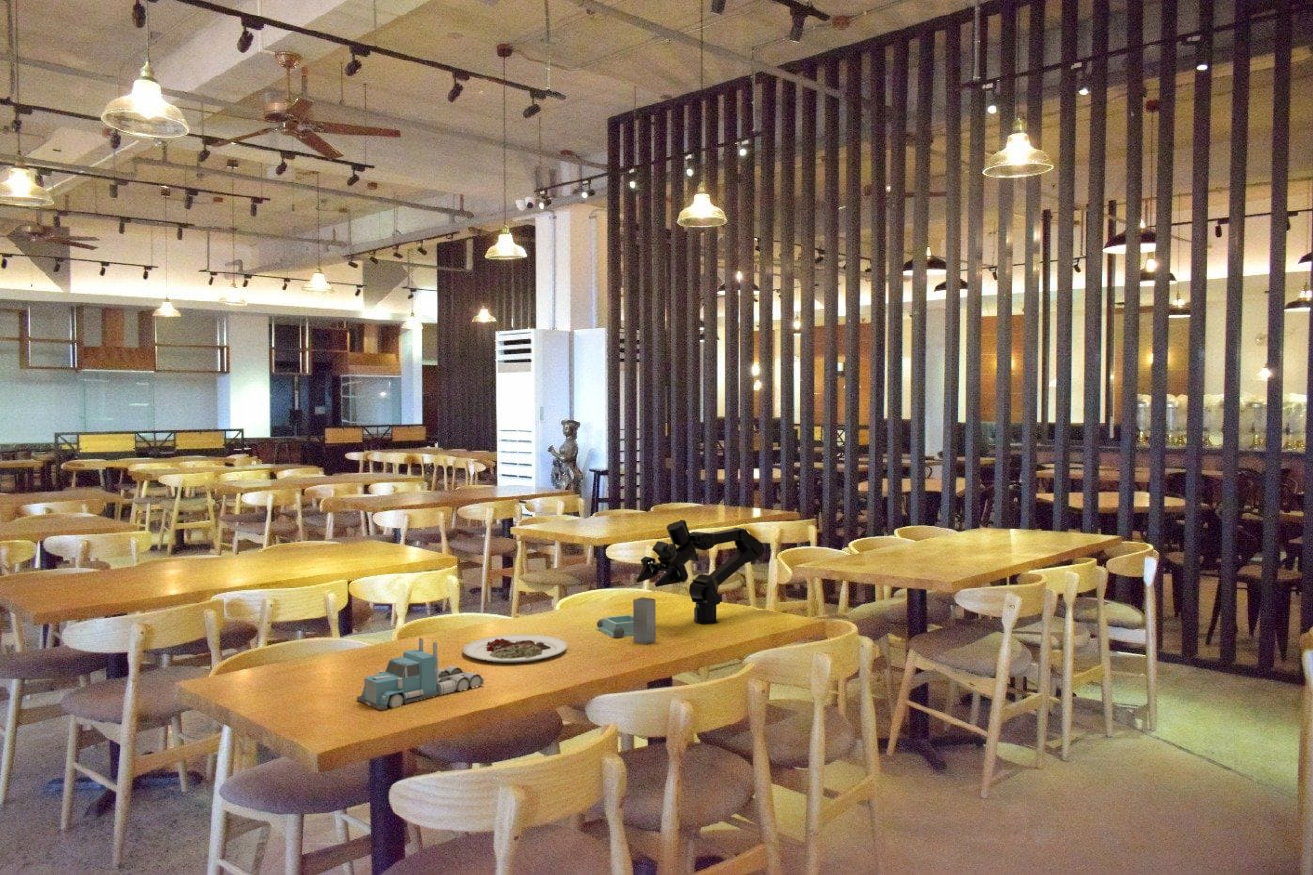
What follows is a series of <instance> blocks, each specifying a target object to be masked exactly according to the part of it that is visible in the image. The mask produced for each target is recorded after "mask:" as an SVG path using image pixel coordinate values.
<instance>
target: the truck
mask: <svg viewBox="0 0 1313 875" xmlns="http://www.w3.org/2000/svg"><path fill="white" fill-rule="evenodd" d="M413 647H414V649H413V650H406V651H404V652H403V654H402V656H398V657H390V659H389V660H388V659H387V661H386V664H387V666H386V669H385V671H384V670H379V672H378V673H376V674H373V675H370V676H367V677H364V685H363V686H364V687H362V693H361V695H359V696H357V697H356V701H357V700H359V701H358V702H360V701H361V702H360V703H362V702H363V703H362V704H364V703H365V704H364V705H366V704H368V705H367V706H368V707H371V706H372V707H371V708H373V707H374V708H373V709H375V708H376V710H378V709H379V710H378V711H380V710H383V711H386V710H385V709H387V710H388V707H389V708H390V707H391V708H390V709H394V708H393V707H396V708H398V707H397V706H400V705H402V706H403V705H408V704H407V703H409V704H411V703H410V702H413V701H417V700H421V699H424V698H428V697H433V696H437V695H439V694H440V695H439V696H443V694H444V695H447V693H448V694H451V692H452V693H455V692H458V691H461V690H464V689H468V690H469V689H471V688H472V687H476V686H480V687H481V685H484V681H485V680H484V678H483V677H482V676H481V674H478V673H475V672H472V671H468V672H466V671H463V669H462V668H461V667H460V668H459V667H457V666H454V665H451V664H450V665H448V666H447V667H445V669H443V668H440V667H439V656H438V643H437V642H432V654H431V653H427V652H425V651H424V638H422V637H418V649H415V648H416V645H414V646H413ZM469 687H471V688H469ZM456 690H457V691H456ZM461 692H462V691H461ZM437 697H438V696H437ZM433 698H434V697H433ZM421 701H422V700H421ZM417 702H418V701H417ZM403 703H404V704H403ZM413 703H414V702H413Z"/></svg>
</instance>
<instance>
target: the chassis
mask: <svg viewBox="0 0 1313 875" xmlns="http://www.w3.org/2000/svg"><path fill="white" fill-rule="evenodd" d="M596 627H597V628H598V631H600V632H601V633H603V634H606V635H608V637H611V638H617V639H620V638H621V639H622V638H623V637H629V636H633V614H623V615H617V616H616V615H615V616H609V617H607V616H606V617H602V618H600V619H599V620H598V621H597V622H596Z"/></svg>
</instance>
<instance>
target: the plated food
mask: <svg viewBox="0 0 1313 875" xmlns="http://www.w3.org/2000/svg"><path fill="white" fill-rule="evenodd" d="M567 648H568V643H567V642H566V641H564V640H563V639H561V638H558V637H553V636H549V635H547V636H546V635H543V634H505V635H504V634H503V635H496V636H489V637H485V638H481V639H477V640H473V641H471V642H469V643H467V644H466V645H464V646H463V647H462V651H463V654H465V656H467V657H470V658H473V659H475V660H476V659H477V660H483V661H485V660H486V662H491V661H492V663H503V664H504V663H505V664H508V663H513V664H514V663H525V662H534V661H539V660H542V659H546V658H550V657H553V656H556V655H560V654H561V653H563V652H564V651H566V650H567Z"/></svg>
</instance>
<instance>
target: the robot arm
mask: <svg viewBox="0 0 1313 875" xmlns="http://www.w3.org/2000/svg"><path fill="white" fill-rule="evenodd" d="M666 531H667V533H668V535H669V538H670V540H671V543H668V542H665V541H659V540H657V541H656V543H655V545H653V547H652V549H651V550H652V551H653V552H654V553H655V554H656V555H657V560H658V561H659V562H657V560H656V559H655V558H656V557H655V558H654V557H650V556H644V557H642V558H641V559H640V562H641V565H642V569H641V571H640V572H639V574H638V576H637V577H636V580H635V581H636V583H638V584H639V583H642V582H643V583H644V582H645V581H648V580H651V579H653V578H654V577H656V576H657V575H659V572H660V571H661V572H663V575H662V576H660V578H659V579H658V580H656V582H655V583H654V587H656V588H657V587H663V586H668V585H673V584H680V583H683V584H684V583H685V582H686V581H687V580H688V579H689V573H688V571H687V569H686V568H687V567H686V565H685V564H687V563H688V562H689V561H690V562H692V561H693V562H699V555H700V554H699V552H697V551H705V552H706V551H708V550H711V549H713V548H714V547H715V546H717V545H720V544H726V543H732V542H734V545H735V547H736V549H735V553H734V554H733V555H731V556H730V557H729V558H727V560H725V561H724V562H723V563H722V564H721V565H719V566H718V567H717V568H716V569H714V570H713V571H712V572H711V573H709V574H705V573H704V574H703V573H700V574H698V575H697V576H696V578H694V579H692V580H691V583H690V584H689V588H688V592H689V595H690V597H691V602H692V603H695V607H693V608H694V609H693V610H694V612H693V621H694V622H696V623H698V624H699V625H704V624H705V625H706V624H714V623H719V620H717V605H720V603H721V601H722V597H721V596H720V595H719V594H718V591H719V586H721V585H722V584H723V583H724V582H725V581H727V580H728V579H729V578H730V577H732V576H733V575H734V574H735V573H736V572H737V571H739V570H740V569H742V567H743V566H744V565H746V564H747V563H751V562H755V561H757V560H758V559H760V558H762V556H763V555H764V552H765V548H764V545H763V542H761V541H759V540H758V539H757V538H756V537H755V536H754V535H752V534H750V532H748V530H747V529H745V528H743V527H733V528H729V529H724V530H719V531H718V530H717V531H713V532H703V531H691V532H690V531H689V527H688V525H687V521H686V520H685V519H680V520H679V521H674V522H672V523H669V524H668V525H667V526H666Z"/></svg>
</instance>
